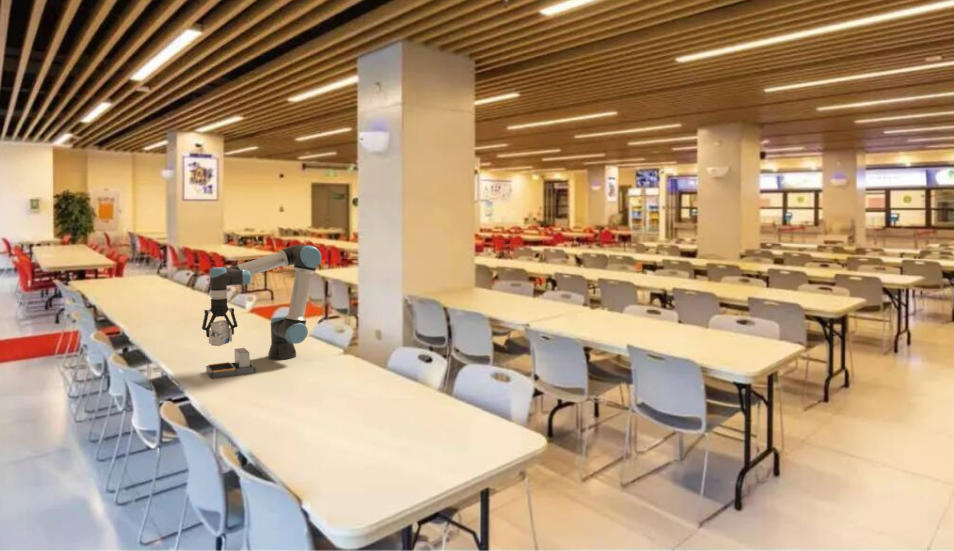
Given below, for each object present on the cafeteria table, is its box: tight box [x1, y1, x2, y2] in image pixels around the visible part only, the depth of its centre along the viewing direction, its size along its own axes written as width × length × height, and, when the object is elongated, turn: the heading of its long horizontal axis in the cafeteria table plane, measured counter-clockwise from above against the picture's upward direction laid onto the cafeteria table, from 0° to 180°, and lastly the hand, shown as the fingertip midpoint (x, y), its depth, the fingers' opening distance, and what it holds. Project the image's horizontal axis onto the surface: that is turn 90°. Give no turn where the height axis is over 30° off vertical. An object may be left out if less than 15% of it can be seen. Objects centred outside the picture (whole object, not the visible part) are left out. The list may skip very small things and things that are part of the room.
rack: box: [206, 347, 257, 380], centre depth 307 cm, size 21×15×11 cm
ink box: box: [210, 319, 230, 347], centre depth 302 cm, size 9×5×12 cm, turn 168°
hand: (220, 342), depth 303 cm, fingers closed on ink box, 9 cm apart
